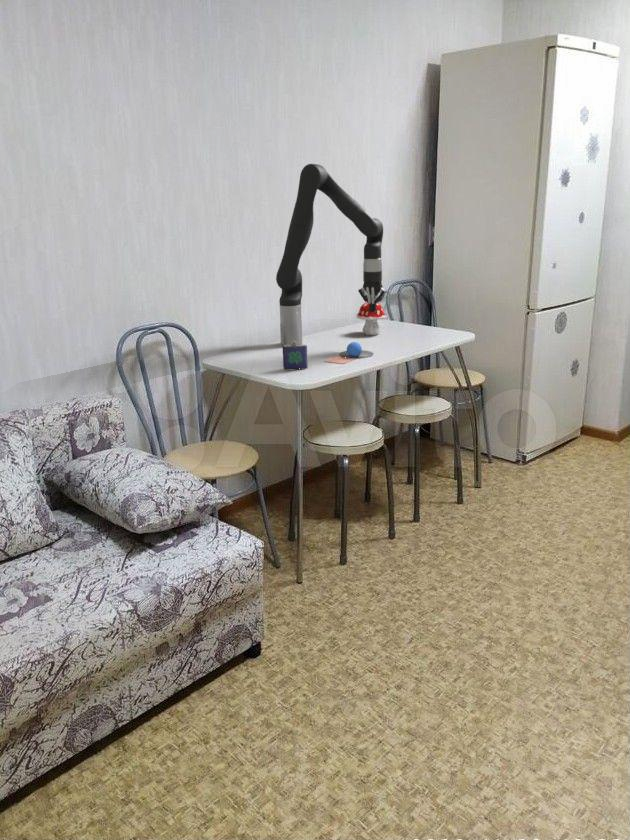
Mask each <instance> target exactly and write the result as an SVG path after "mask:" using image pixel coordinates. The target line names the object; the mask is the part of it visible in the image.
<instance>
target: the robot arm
mask: <svg viewBox="0 0 630 840" xmlns="http://www.w3.org/2000/svg"><path fill="white" fill-rule="evenodd" d="M317 191H320V192H321V193H323V194H324V195H326V197H328V198H329V199H330V200H331V201H332V202H333V204H334V205H335V206H336V208H337V209H338V210H339V212H341V213H342V214H343V215H344V216H345V217H346V218H348V220H349V221H351V222H352V223H353V224H354V226H355V227H356V228H357V229H358V231H359V232H360V234H362V235H364V236H365V237H366V242H365V244H364V246H363V261H362V262H363V263H362V265H363V267H362V270H363V271H362V272H363V276H362V277H363V278H362V279H363V280H362V281H363V285H362V287H361V288H359V289H358V293H359V294H360V296H361V298H362V299H363V301H364V303H366V302H368V303H369V311H370V313H375V312H376V310H377V303H380V302H382V301H383V299H384V297H385V296H386V294H387V293H388V290H387V289H384V288H383V284H382V282H383V263H382V243H383V237H384V224H383V222H382V221H381V220H380V219H379V218H375V217H373V218H372V217H371V216H370V215H369V213H367V211H366V209H365V208H364V207H363V206H362V205H361V204H360V203H359V202H358V201H356V199H355V198H353V197H352V196H351V195H350V194H349V193H347V192H346V191H345V190H344V189H343V188H342V187H341V186H340V185H339V184H338V182H336V181H335V179H334V178H333V177H332V176H331V174H330V173H329V172H328V171H327V169H326V168H325V167H324V166H323V165H321V164H316V163H309V164H306V165H305V166H304V167H302V169H301V172H300V174H299V183H298V190H297V194H296V195H297V196H296V200H295V204H294V207H293V211H292V215H291V219H290V223H289V227H288V232H287V236H286V242H285V246H284V251H283V255H282V258H281V260H280V261H281V262H280V264H279V266H278V270H277V272H276V278H275V280H276V284H277V286H278V287H279V288H280V289H281V294H280V297H279V302H278V303H279V322H280V324H279V329H280V330H279V333H280V346H281V345H287V344H288V345H289V344H293V341H297V342H296V344H297V345H303V325H302V324H303V322H302V318H303V317H302V298H303V275H302V273H301V271H300V269H299V264H300V259H301V258H302V255H303V253H304V251H305V250H306V248H307V245H308V243H309V242H310V241H309V240H310V238H311V234H312V230H313V227H314V220H315V218H314V203H315V199H316V195H317ZM379 293H380V294H379Z"/></svg>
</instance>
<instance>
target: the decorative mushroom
mask: <svg viewBox="0 0 630 840" xmlns="http://www.w3.org/2000/svg"><path fill="white" fill-rule="evenodd" d="M355 317H356V318H357V319H359V320H365V322H364V325H363V328H362V333H363V334H364V335H365V334H366V336H376V335H379V333H380V332H381V328H380V326H379V323H378V320H382V319H385V318H387V314H386V313H385V311H384V307H383V306H382V305H381V304H380V302H378V303H377V310H376V312H375V313H370V311H369V303H368V302H364V303H363V304H362V305H361V306H360V307H359V311H358V313H357V314H356V315H355Z"/></svg>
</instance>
